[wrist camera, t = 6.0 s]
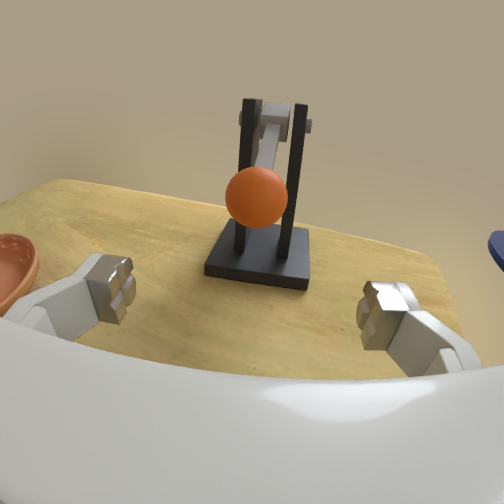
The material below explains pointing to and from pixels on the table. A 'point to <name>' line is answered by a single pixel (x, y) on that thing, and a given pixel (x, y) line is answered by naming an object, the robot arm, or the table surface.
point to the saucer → (16, 268)
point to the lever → (261, 175)
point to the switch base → (271, 237)
